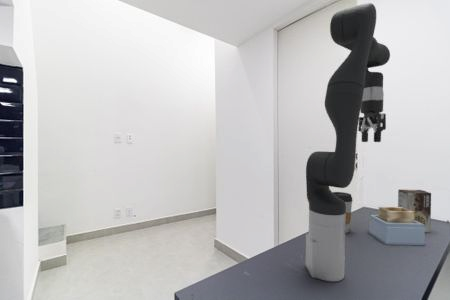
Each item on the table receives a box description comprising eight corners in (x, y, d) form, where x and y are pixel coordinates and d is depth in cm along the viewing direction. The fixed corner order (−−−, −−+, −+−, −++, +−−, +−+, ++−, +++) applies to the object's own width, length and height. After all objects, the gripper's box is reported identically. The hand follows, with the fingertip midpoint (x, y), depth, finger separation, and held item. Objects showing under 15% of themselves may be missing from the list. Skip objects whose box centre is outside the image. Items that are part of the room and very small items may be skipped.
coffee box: (419, 227, 101) (420, 189, 100) (430, 232, 94) (432, 192, 94) (396, 226, 101) (397, 189, 101) (406, 231, 95) (407, 192, 94)
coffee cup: (328, 231, 94) (329, 194, 94) (329, 225, 102) (330, 190, 101) (351, 235, 90) (352, 197, 90) (351, 228, 98) (352, 193, 97)
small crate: (388, 225, 85) (388, 211, 85) (378, 219, 91) (378, 206, 91) (413, 225, 85) (414, 211, 85) (402, 220, 91) (402, 207, 91)
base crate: (386, 244, 83) (386, 224, 83) (368, 232, 94) (368, 214, 94) (424, 245, 83) (425, 225, 82) (402, 233, 94) (402, 215, 93)
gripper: (352, 103, 99) (351, 142, 100) (372, 97, 85) (371, 142, 85) (371, 103, 99) (370, 142, 99) (394, 96, 85) (392, 142, 85)
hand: (370, 142), depth 92 cm, fingers open, 8 cm apart
